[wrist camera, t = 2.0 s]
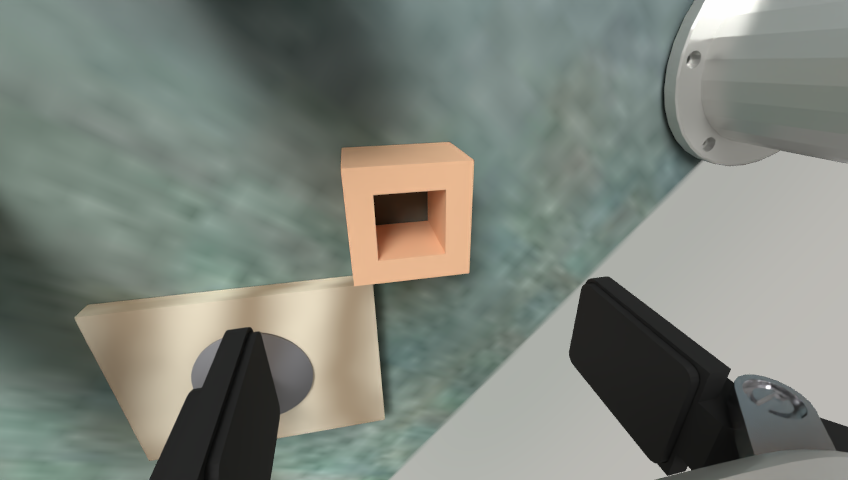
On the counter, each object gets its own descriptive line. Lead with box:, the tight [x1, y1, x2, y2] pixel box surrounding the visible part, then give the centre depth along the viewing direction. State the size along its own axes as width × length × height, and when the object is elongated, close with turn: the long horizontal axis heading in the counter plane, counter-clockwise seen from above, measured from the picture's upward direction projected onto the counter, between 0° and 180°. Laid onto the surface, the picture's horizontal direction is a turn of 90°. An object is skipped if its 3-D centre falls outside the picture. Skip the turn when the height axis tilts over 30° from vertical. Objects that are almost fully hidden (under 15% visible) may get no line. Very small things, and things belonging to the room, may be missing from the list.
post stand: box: [74, 276, 385, 461], centre depth 22 cm, size 16×12×7 cm
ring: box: [341, 142, 474, 286], centre depth 20 cm, size 6×6×4 cm
